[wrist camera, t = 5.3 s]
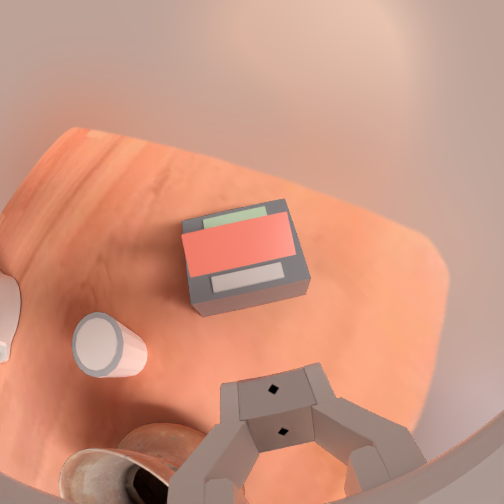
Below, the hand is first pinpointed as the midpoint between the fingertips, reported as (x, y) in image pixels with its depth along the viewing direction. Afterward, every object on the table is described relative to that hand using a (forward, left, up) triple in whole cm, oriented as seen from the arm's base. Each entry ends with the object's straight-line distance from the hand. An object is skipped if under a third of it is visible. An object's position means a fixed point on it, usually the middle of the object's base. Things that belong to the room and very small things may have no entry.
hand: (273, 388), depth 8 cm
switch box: (+5, +13, -22) cm, 26 cm away
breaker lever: (+5, +13, -16) cm, 21 cm away
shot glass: (-13, +11, -22) cm, 28 cm away
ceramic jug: (-15, -5, -22) cm, 27 cm away
